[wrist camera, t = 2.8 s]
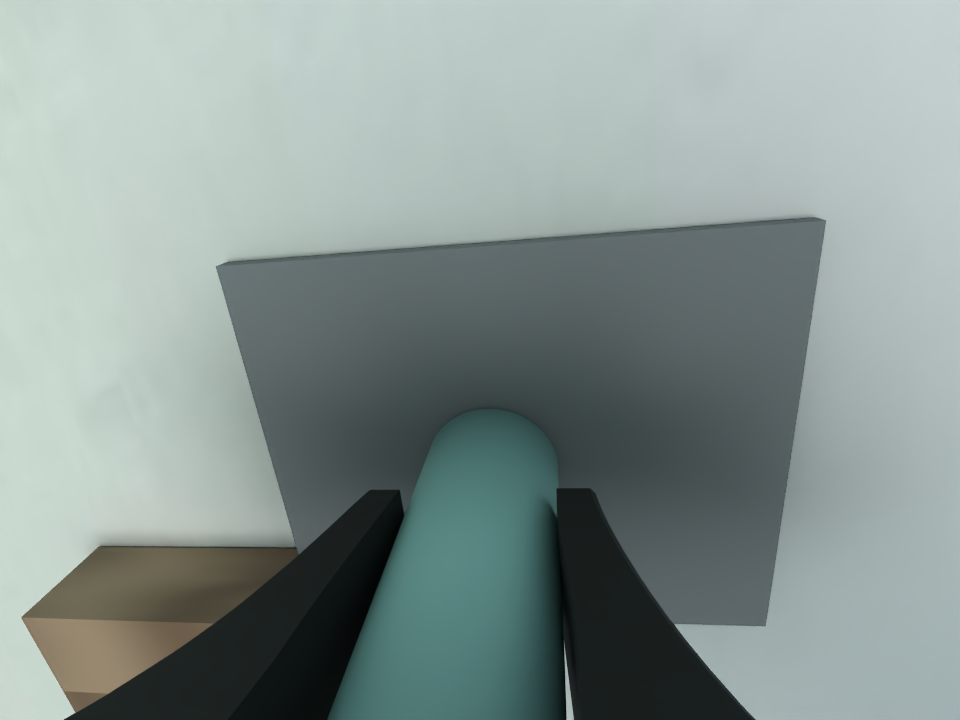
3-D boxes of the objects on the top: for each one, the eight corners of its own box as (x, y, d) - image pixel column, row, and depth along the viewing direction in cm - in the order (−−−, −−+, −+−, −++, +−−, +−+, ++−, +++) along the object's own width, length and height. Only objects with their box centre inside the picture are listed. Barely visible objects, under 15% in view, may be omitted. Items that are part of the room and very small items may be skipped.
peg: (555, 406, 11) (569, 889, 4) (560, 519, 12) (579, 1055, 5) (420, 410, 12) (212, 853, 4) (437, 518, 13) (293, 1013, 6)
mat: (815, 217, 10) (826, 220, 9) (759, 613, 14) (765, 626, 13) (226, 262, 12) (215, 266, 11) (321, 602, 15) (315, 613, 15)
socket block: (429, 549, 14) (406, 629, 12) (468, 781, 18) (456, 876, 16) (98, 546, 16) (20, 617, 13) (199, 762, 19) (152, 846, 17)
